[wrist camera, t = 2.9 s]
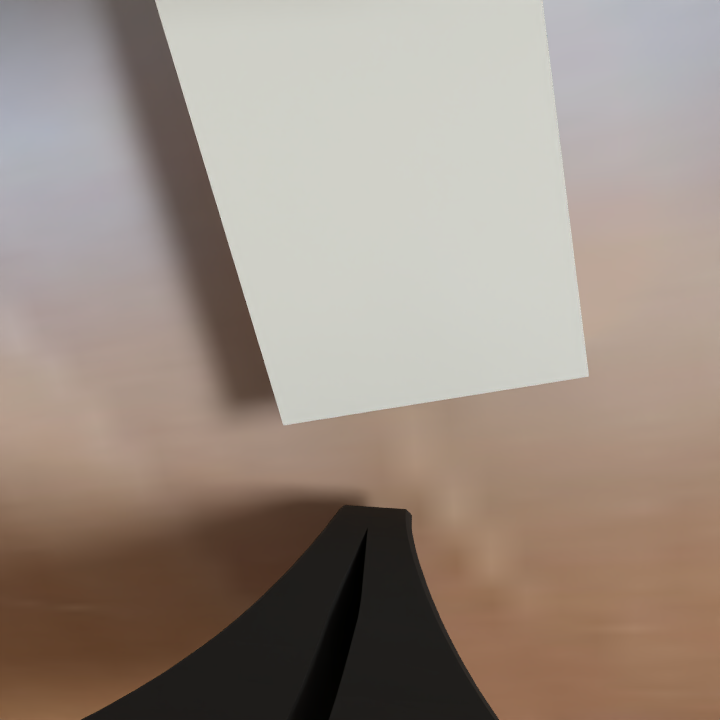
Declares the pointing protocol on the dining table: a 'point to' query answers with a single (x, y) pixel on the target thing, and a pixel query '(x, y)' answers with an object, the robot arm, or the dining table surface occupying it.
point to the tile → (386, 193)
